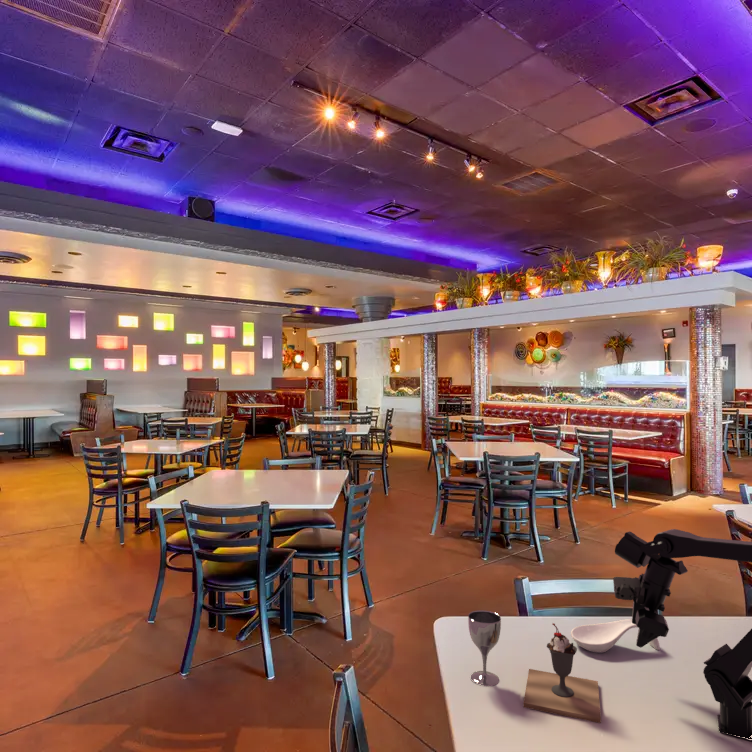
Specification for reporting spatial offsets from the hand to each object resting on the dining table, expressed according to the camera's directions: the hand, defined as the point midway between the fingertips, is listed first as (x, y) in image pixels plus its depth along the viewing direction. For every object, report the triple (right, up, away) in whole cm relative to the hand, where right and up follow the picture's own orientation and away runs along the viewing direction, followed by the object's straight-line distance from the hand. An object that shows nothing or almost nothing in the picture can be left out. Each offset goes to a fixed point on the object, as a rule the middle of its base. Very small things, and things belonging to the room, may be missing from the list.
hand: (636, 634), depth 127 cm
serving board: (-20, -12, -5) cm, 24 cm away
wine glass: (-36, -12, +2) cm, 38 cm away
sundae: (-20, -11, -5) cm, 23 cm away
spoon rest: (+4, -13, +19) cm, 24 cm away
